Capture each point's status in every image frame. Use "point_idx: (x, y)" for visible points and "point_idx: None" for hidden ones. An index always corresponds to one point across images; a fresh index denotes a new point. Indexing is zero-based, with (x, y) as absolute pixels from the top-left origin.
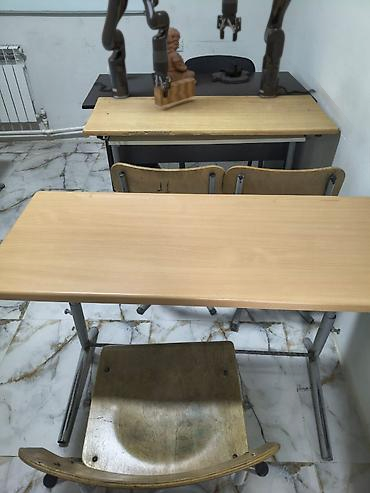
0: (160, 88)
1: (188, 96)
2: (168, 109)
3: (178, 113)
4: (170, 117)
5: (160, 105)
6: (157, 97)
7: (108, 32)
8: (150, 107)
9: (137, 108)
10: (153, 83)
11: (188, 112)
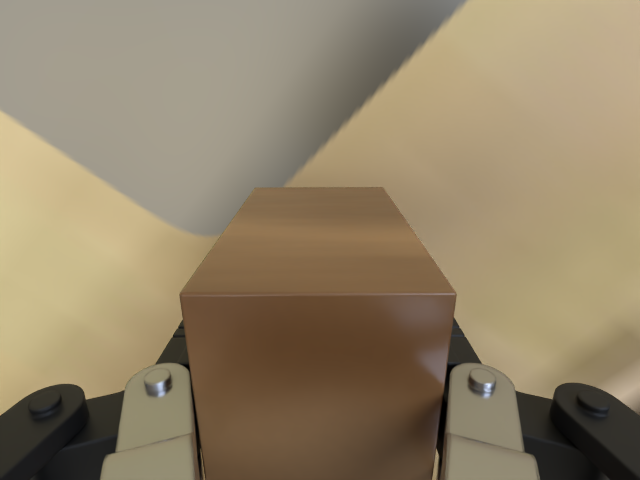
0: (233, 350)
1: None
2: None
3: (99, 278)
4: (37, 141)
5: (256, 191)
6: (312, 217)
7: None
8: (473, 176)
9: (586, 29)
10: (627, 418)
11: (66, 358)
